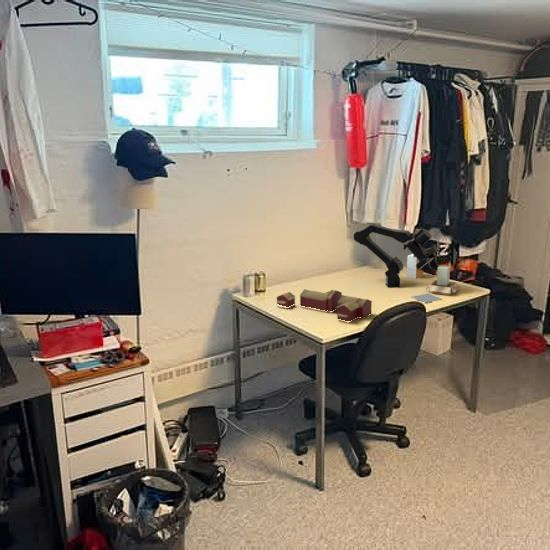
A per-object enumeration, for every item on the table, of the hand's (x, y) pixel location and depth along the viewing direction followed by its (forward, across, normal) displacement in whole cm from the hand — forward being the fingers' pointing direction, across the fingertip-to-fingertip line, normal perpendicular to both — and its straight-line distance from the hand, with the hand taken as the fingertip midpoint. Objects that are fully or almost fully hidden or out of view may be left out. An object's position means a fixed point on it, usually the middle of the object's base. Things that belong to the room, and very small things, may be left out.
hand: (437, 272), depth 281 cm
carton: (+9, 0, +5) cm, 11 cm away
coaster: (+7, -15, +8) cm, 18 cm away
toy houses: (-21, -54, +35) cm, 68 cm away
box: (+9, 0, +5) cm, 10 cm away
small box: (-6, +24, +21) cm, 32 cm away
